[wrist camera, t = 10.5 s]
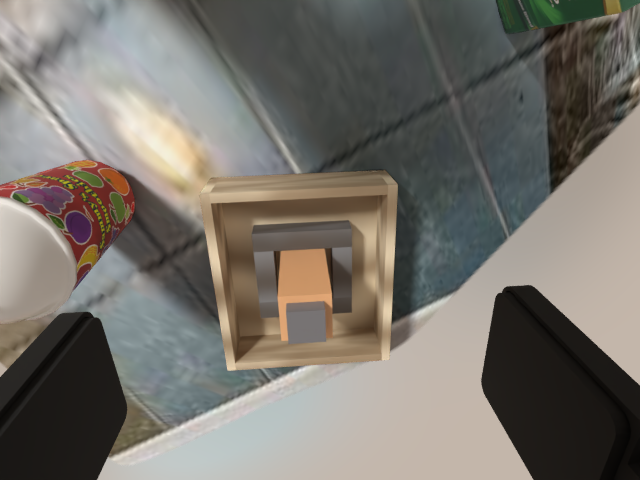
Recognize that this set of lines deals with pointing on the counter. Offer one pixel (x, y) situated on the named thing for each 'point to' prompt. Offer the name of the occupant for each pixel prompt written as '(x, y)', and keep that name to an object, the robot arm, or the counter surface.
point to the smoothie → (56, 234)
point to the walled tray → (302, 206)
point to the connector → (304, 297)
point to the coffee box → (555, 12)
